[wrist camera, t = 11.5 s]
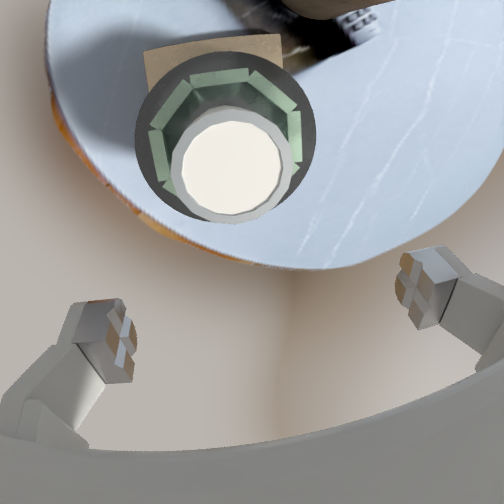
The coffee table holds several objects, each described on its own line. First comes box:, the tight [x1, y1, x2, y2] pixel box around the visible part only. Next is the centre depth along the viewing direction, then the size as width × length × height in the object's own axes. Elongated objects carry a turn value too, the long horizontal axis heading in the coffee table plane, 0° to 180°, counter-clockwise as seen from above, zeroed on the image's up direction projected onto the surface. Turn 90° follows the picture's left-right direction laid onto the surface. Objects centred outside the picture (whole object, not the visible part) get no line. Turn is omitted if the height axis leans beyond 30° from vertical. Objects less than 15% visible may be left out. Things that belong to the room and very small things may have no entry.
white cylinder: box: [170, 105, 294, 224], centre depth 20 cm, size 7×7×7 cm
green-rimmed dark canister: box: [135, 34, 316, 222], centre depth 27 cm, size 18×14×13 cm
